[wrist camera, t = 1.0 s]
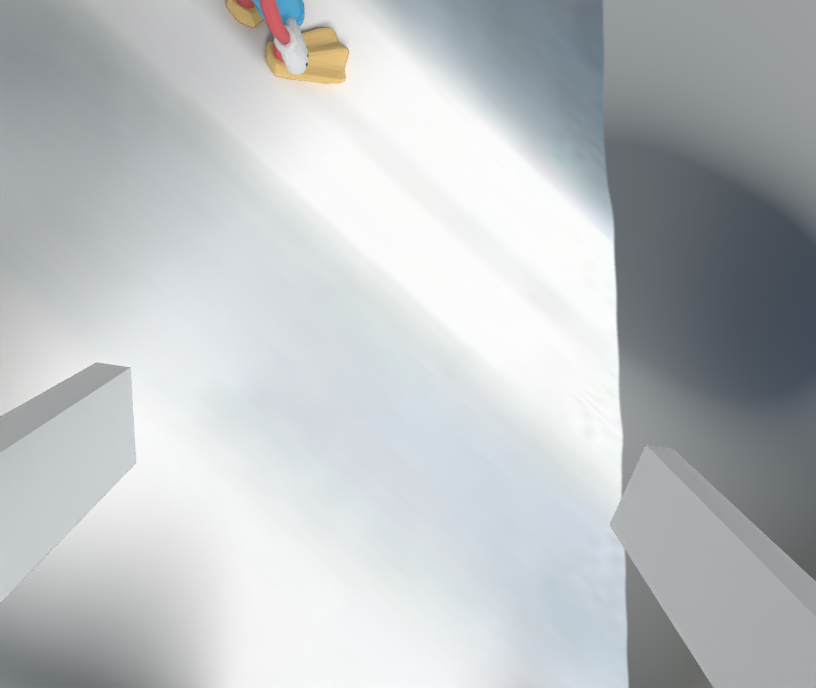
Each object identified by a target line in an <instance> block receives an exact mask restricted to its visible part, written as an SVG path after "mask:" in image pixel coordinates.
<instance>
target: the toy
mask: <svg viewBox="0 0 816 688" xmlns="http://www.w3.org/2000/svg"><path fill="white" fill-rule="evenodd" d="M226 7H227V8H228V9H229V11H230V12H231V13H232V15H233V16H234V17H235V18H236V19H237V20H238V21H239V22H240V23H242V24H245V25H248V26H251V27H256V26H257V25H258V24H259V23H260V22H261V21H262V20H263V19H264V20H265V21H266V23H267V25H268V28H269V30H270V32H271V33H272V34H273V35H274V40H273V41H268V43H267V45H266V61H267V64H268V65H269V67H270V68H271V70H272V71H273V73H274V75H275V76H278V77H282V78H286V79H293V80H302V81H310V82H319V83H342V82H344V81H345V78H346V77H345V70H344V69H345V65H346V62H347V59H348V55H349V50H348V48H347V47H345V46H344V45H342V44H341V43H340V42H339V41H338V39H337V36H336V33H335V32H334V30H333V29H331V28H329V27H324V28H316V29H313V30H310V31H306V32H303V33H301V30H300V28H299V26H300V25H301V24H302V23H303V20H304V3H303V1H302V0H227V1H226Z"/></svg>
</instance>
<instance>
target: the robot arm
mask: <svg viewBox="0 0 816 688" xmlns="http://www.w3.org/2000/svg"><path fill="white" fill-rule="evenodd" d="M135 464H136V453H135V436H134V420H133V403H132V386H131V369H130V367H123V366H116V365H110V364H103V363H95V364H93V365H91V366H90V367H88V368H86V369H84V370H82V371H81V372H79V373H77V374H75V375H74V376H72V377H70V378H68V379H66V380H65V381H63V382H61V383H59V384H58V385H56V386H54V387H52V388H50V389H49V390H47V391H45V392H43V393H42V394H40V395H38V396H36V397H35V398H33V399H31V400H29V401H27V402H26V403H24V404H22V405H20V406H19V407H17V408H15V409H13V410H11V411H10V412H8V413H6V414H4V415H3V416H1V417H0V603H1V602H2V601H3V600H4V599H5V598H6V597H7V596H8V595H9V594H10V593H11V592H12V591H13V590H14V589H15V588H16V587H17V586H18V584H19V583H20V582H21V581H22V580H23V579H24V578H25V577H26V576H27V575H28V574H29V573H30V572H31V571H32V570H33V569H34V568H35V567H36V566H37V565H38V564H39V563H40V562H41V561H42V560H43V559H44V558H45V557H46V556H47V555H48V554H49V552H50V551H51V550H52V549H53V548H54V547H55V546H56V545H57V544H58V543H59V542H60V541H61V540H62V539H63V538H64V537H65V536H66V535H67V534H68V533H69V532H70V531H71V530H72V529H73V528H74V527H75V526H76V525H77V524H78V523H79V522H80V520H81V519H82V518H83V517H84V516H85V515H86V514H87V513H88V512H89V511H90V510H91V509H92V508H93V507H94V506H95V505H96V504H97V503H98V502H99V501H100V500H101V499H102V498H103V497H104V496H105V495H106V494H107V493H108V492H109V491H110V489H111V488H112V487H113V486H114V485H115V484H116V483H117V482H118V481H119V480H120V479H121V478H122V477H123V476H124V475H125V474H126V473H127V472H128V471H129V470H130V469H131V468H132V467H133V466H134V465H135ZM610 526H611V528H612V529H613V531H614V533H615V534H616V536H617V537H618V539H619V540H620V542H621V544H622V545H623V547H624V548H625V550H626V551H627V553H628V554H629V556H630V558H631V559H632V561H633V562H634V564H635V565H636V567H637V568H638V570H639V572H640V573H641V575H642V576H643V578H644V579H645V581H646V583H647V584H648V586H649V587H650V589H651V590H652V592H653V594H654V595H655V597H656V598H657V600H658V601H659V603H660V605H661V606H662V608H663V609H664V611H665V612H666V614H667V616H668V617H669V619H670V620H671V622H672V623H673V625H674V627H675V628H676V630H677V631H678V633H679V634H680V636H681V638H682V639H683V640H684V642H685V644H686V645H687V647H688V648H689V650H690V651H691V653H692V655H693V656H694V658H695V659H696V661H697V663H698V664H699V666H700V667H701V669H702V670H703V672H704V674H705V675H706V677H707V678H708V680H709V681H710V683H711V684H712V686H713V687H714V688H816V582H815V581H814V580H813V579H812V578H811V577H810V576H809V575H808V574H807V573H806V572H805V571H803V569H801V568H800V567H799V566H798V565H797V564H796V563H795V562H794V561H793V560H792V559H791V558H790V557H789V556H788V555H786V554H785V553H784V552H783V551H782V550H781V549H780V548H779V547H778V546H777V545H776V544H775V543H774V542H772V541H771V540H770V539H769V538H768V537H767V536H766V535H765V534H764V533H763V532H761V530H760V529H758V528H757V527H756V526H755V525H754V524H753V523H752V522H751V521H750V520H749V519H748V518H747V517H746V516H745V515H743V514H742V513H741V512H740V511H739V510H738V509H737V508H736V507H735V506H734V505H733V504H732V503H731V502H729V501H728V500H727V499H726V498H725V497H724V496H723V495H722V494H721V493H720V492H719V491H718V490H717V489H715V488H714V487H713V486H712V485H711V484H710V483H709V482H708V481H707V480H706V479H705V478H703V476H701V475H700V474H699V473H698V472H697V471H696V470H695V469H694V468H693V467H692V466H690V464H689V463H688V462H686V461H685V460H684V459H683V458H682V457H681V456H680V455H679V454H678V453H677V452H676V451H674V449H671V448H664V447H657V446H651V445H646V446H645V448H644V450H643V453H642V455H641V457H640V459H639V461H638V464H637V466H636V468H635V470H634V472H633V475H632V477H631V479H630V481H629V483H628V486H627V488H626V490H625V492H624V494H623V496H622V499H621V501H620V503H619V505H618V507H617V510H616V512H615V514H614V516H613V518H612V521H611V523H610Z"/></svg>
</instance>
